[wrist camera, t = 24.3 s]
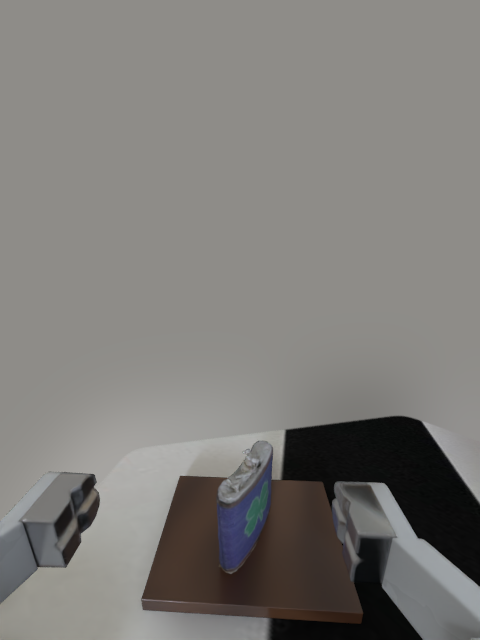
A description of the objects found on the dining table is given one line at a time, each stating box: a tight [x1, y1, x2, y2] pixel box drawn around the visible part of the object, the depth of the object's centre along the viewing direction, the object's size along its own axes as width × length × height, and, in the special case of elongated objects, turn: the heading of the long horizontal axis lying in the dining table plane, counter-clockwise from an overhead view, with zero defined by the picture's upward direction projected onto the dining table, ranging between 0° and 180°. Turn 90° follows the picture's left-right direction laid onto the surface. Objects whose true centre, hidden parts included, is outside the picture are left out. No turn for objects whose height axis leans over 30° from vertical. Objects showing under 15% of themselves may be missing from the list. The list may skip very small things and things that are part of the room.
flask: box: [216, 441, 273, 574], centre depth 27 cm, size 9×3×11 cm, turn 146°
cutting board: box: [142, 476, 363, 624], centre depth 29 cm, size 20×13×2 cm, turn 88°
